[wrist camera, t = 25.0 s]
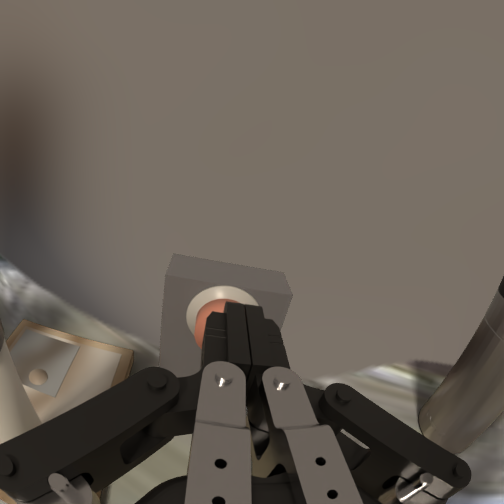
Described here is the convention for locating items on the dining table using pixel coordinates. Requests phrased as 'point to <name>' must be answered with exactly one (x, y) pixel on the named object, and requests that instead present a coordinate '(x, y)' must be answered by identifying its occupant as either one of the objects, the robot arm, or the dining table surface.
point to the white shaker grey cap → (13, 398)
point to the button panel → (203, 291)
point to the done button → (204, 313)
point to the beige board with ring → (63, 370)
